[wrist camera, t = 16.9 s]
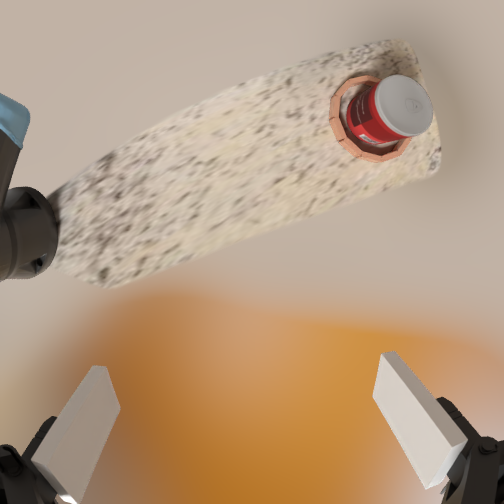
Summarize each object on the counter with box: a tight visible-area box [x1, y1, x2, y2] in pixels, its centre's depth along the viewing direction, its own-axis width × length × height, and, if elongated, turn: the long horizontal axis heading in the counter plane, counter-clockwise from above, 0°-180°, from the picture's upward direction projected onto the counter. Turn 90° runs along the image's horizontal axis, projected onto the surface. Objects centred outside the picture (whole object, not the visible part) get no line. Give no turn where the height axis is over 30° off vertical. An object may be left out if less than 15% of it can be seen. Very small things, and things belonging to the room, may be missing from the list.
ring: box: [329, 75, 412, 163], centre depth 37 cm, size 13×13×2 cm
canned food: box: [346, 75, 433, 144], centre depth 33 cm, size 8×8×11 cm
